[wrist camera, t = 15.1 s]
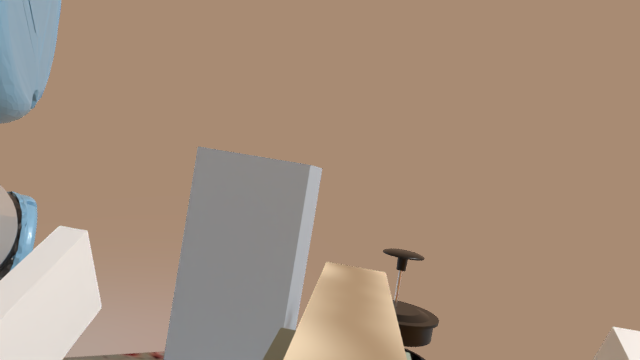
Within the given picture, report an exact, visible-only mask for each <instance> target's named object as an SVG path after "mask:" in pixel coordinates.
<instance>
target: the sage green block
mask: <svg viewBox="0 0 640 360" xmlns="http://www.w3.org/2000/svg"><path fill="white" fill-rule="evenodd" d="M295 332H296V330H292V329H287V328H280V329H279V331H278V333H277V335H276V337H275V338H274V340H273V342H272V344H271V345H270V347H269V349H268V351H267V353H266V354H265V356H264V358H263V360H283V359H284V357H285V355H286V352H287V350H288V348H289V346H290V343H291V341H292V339H293V337H294V334H295ZM405 353H406V357H407V360H411V356H410V353H408V352H405Z"/></svg>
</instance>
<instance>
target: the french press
mask: <svg viewBox="0 0 640 360" xmlns="http://www.w3.org/2000/svg"><path fill="white" fill-rule="evenodd" d="M383 252H384V253H386V254H388V255H391V256H395V257H398V261H397V270H399V274H398V280H397V285H396V291H395V297H394V300H392V301H393V305H394V309H395V313H396V317H397V321H398V325H399V329H400V333H401V337H402V341H403V345H404V346H407V347H419V346H424V345H427V344H429V343H430V341H431V336H432V330H433V328H435V327H437V326H438V323H439V320H438V318H437V317H436V316H435V315H434V314H432V313H431V312H429V311H427V310H425V309H422V308H420V307H417V306H414V305H411V304H408V303H404V302H401V301H398V295H399V289H400V283H401V277H402V271H405V270H406V265H407V260H408V259H410V260H424V257H423V256H421V255H419V254H417V253H414V252H411V251H407V250H402V249H385V250H383ZM404 349H405V348H404ZM405 352H408V353H410V356H411V360H425V359H424V358H422V357H421V356H419V355H418V354H416V353H414V352H412V351H410V350H408V349H405Z"/></svg>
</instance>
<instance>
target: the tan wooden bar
mask: <svg viewBox="0 0 640 360" xmlns="http://www.w3.org/2000/svg"><path fill="white" fill-rule="evenodd" d="M283 360H407V357H406V353H405V349H404V345H403V341H402V337H401V333H400V329H399V325H398V321H397V317H396V313H395V309H394V305H393V301H392V297H391V292H390V289H389V285H388V280H387V276H386V273H385V272H380V271H375V270H369V269H364V268H358V267H353V266H348V265H342V264H337V263H331V262H326V265H325V267H324V269H323V271H322V274H321V276H320V278H319V281H318V283H317V285H316V287H315V289H314V292H313V294H312V296H311V298H310V301H309V303H308V305H307V307H306V310H305V312H304V314H303V316H302V319H301V321H300V323H299V325H298V328H297V330H296V332H295V334H294V337H293V339H292V341H291V343H290V346H289V348H288V350H287V352H286V355H285V357H284V359H283Z"/></svg>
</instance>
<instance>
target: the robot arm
mask: <svg viewBox="0 0 640 360" xmlns="http://www.w3.org/2000/svg"><path fill="white" fill-rule="evenodd" d="M60 8H61V0H0V123H8V122H11V121H15V120H18V119H20V118H22V117H23V116H24V115H26V114H27V113H28V112H29V111H30V109H32V108H34V107H35V105H36V103H37V101H38V100H39V99H40V98H41V97H42V94H43V92H44V89H45V86H46V83H47V80H48V77H49V74H50V69H51V65H52V61H53V57H54V52H55V46H56V39H57V31H58V30H57V29H58V23H59V17H60ZM36 227H37V204H36V202H35V200H34V199H33V198H31V197H29V196H26V195H20V194H18V193H15V192H6V191H5V190H4V188H3V187H2V186H1V185H0V360H62V359H63V358H64V357H65V355H66V354H67V353H68V351H69V350H70V349H71V348H72V346H73V345H74V344H75V342H76V341H77V340H78V338H79V337H80V336H81V334H82V333H83V332H84V330H85V329H86V328H87V326H88V325H89V324H90V322H91V321H92V319H93V318H94V317H95V316H96V314H97V313H98V312H99V310H100V309H101V308H102V305H101V300H100V295H99V290H98V284H97V279H96V273H95V269H94V263H93V258H92V252H91V247H90V242H89V237H88V231H86V230H80V229H75V228H69V227H64V226H59V227H58V228H57V229H56V230H54V231H53V232H52V233H51V234H50V235H49V236H48V237H47V238H46V239H45V240H44V241H42V242H41V243H40V244H39V245H38V246H37V247H36V248H35V249H34V250H33V246H34V241H35V234H36ZM593 360H640V332H639V331H634V330H628V329H622V328H617V327H612V329H611V330H610V332H609V334H608V335H607V337H606V339H605V340H604V342H603V344H602V345H601V347H600V349H599V351H598V352H597V354H596V355H595V357H594V359H593Z"/></svg>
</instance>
